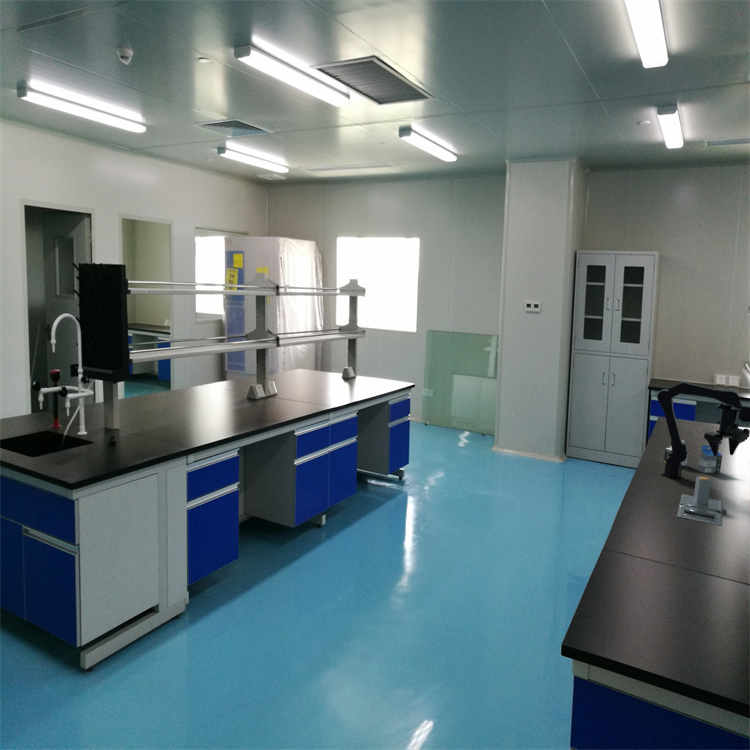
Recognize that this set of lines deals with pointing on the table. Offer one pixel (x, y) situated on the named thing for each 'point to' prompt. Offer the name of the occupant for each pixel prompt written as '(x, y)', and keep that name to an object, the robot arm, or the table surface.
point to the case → (700, 510)
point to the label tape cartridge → (709, 461)
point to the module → (702, 490)
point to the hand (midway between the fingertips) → (723, 455)
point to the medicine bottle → (669, 451)
